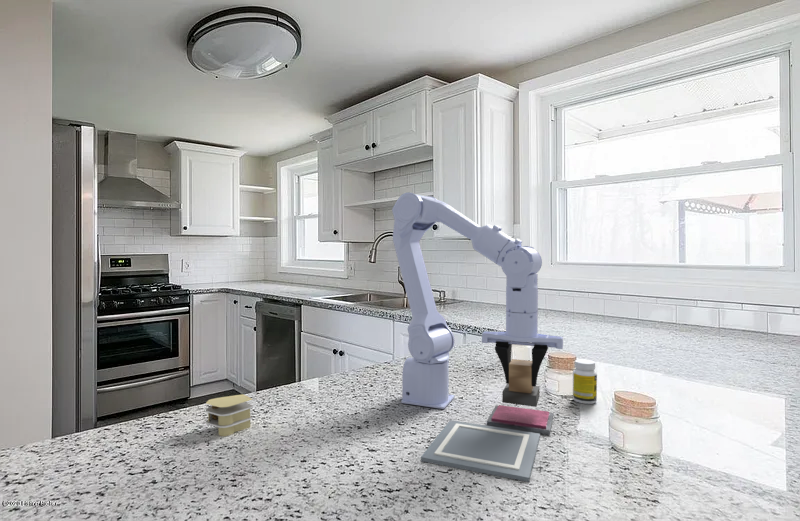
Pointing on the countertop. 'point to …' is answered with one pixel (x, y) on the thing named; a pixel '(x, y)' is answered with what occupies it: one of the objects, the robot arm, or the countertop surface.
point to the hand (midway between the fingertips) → (521, 383)
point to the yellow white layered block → (229, 414)
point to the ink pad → (521, 419)
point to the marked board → (484, 449)
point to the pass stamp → (520, 385)
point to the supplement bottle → (585, 382)
